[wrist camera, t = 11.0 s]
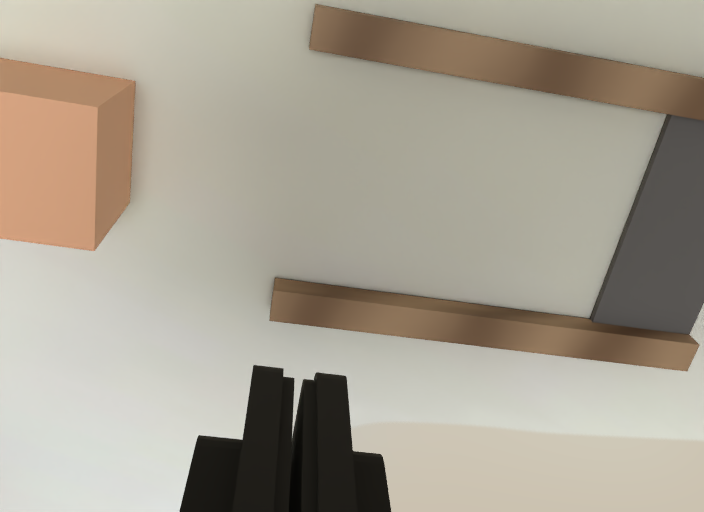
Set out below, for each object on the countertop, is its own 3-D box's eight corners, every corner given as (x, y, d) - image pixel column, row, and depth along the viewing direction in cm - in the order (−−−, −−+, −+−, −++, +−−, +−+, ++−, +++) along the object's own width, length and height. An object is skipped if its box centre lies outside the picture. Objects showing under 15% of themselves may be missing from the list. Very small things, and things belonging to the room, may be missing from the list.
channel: (793, 94, 26) (814, 100, 25) (673, 357, 32) (687, 371, 31) (315, 3, 24) (316, 6, 23) (270, 307, 29) (269, 320, 28)
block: (135, 80, 25) (97, 107, 20) (130, 201, 27) (94, 251, 22) (-2, 57, 24) (-73, 79, 19) (3, 183, 26) (-61, 230, 21)
